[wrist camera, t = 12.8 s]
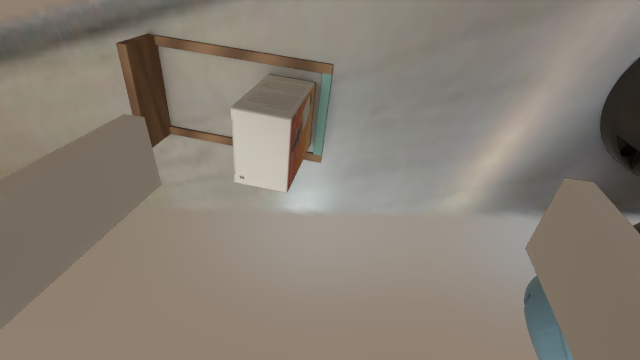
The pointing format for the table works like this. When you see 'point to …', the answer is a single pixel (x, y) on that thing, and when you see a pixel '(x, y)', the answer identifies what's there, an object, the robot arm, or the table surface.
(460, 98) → the table surface
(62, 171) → the robot arm
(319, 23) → the table surface
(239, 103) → the small box
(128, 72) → the bay
